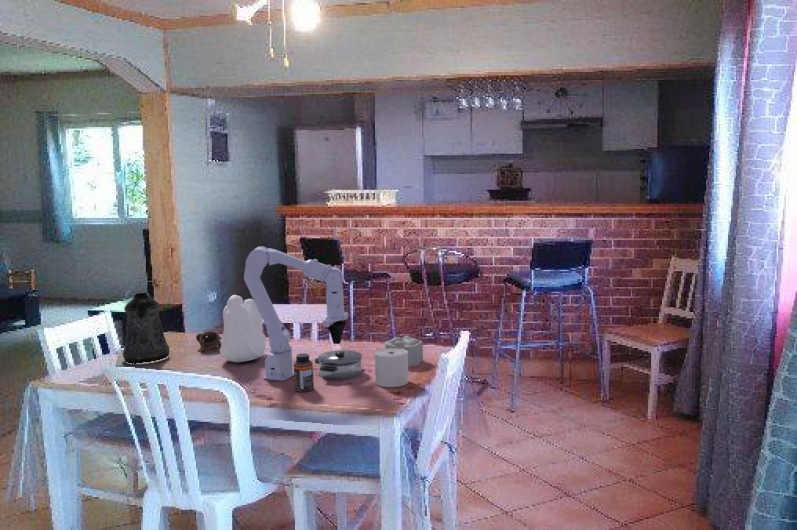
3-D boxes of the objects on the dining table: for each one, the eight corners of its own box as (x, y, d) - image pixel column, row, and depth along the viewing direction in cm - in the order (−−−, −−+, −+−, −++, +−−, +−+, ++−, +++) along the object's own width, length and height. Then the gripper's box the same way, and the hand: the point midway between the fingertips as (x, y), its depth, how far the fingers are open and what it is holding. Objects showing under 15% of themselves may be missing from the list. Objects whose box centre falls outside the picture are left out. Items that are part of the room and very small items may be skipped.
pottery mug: (228, 348, 283) (225, 333, 278) (213, 363, 277) (210, 348, 272) (204, 338, 288) (201, 323, 282) (189, 353, 281) (185, 338, 276)
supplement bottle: (293, 388, 227) (291, 353, 226) (311, 385, 229) (309, 351, 228) (297, 393, 222) (295, 358, 220) (316, 391, 224) (314, 355, 222)
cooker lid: (349, 367, 232) (349, 360, 231) (309, 363, 237) (309, 356, 237) (368, 355, 245) (368, 348, 244) (330, 352, 251) (330, 345, 250)
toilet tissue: (400, 389, 223) (399, 357, 222) (366, 385, 228) (364, 354, 227) (414, 379, 233) (413, 349, 231) (381, 376, 238) (380, 346, 236)
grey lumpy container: (414, 367, 246) (414, 343, 245) (380, 364, 251) (379, 340, 250) (425, 359, 255) (424, 336, 254) (392, 357, 260) (391, 333, 259)
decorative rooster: (246, 369, 251) (241, 299, 247) (210, 365, 257) (205, 297, 254) (286, 351, 273) (283, 287, 270) (252, 348, 280) (248, 285, 276)
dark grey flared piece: (157, 351, 280) (152, 288, 276) (181, 359, 266) (176, 293, 263) (115, 360, 269) (110, 294, 265) (139, 369, 255) (133, 300, 251)
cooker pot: (346, 383, 230) (345, 368, 230) (303, 379, 237) (303, 364, 236) (371, 367, 248) (370, 353, 247) (330, 364, 254) (330, 350, 253)
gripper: (335, 308, 231) (337, 349, 233) (355, 300, 244) (357, 339, 246) (316, 307, 234) (318, 348, 235) (337, 299, 247) (338, 337, 249)
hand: (336, 343), depth 241 cm, fingers closed
